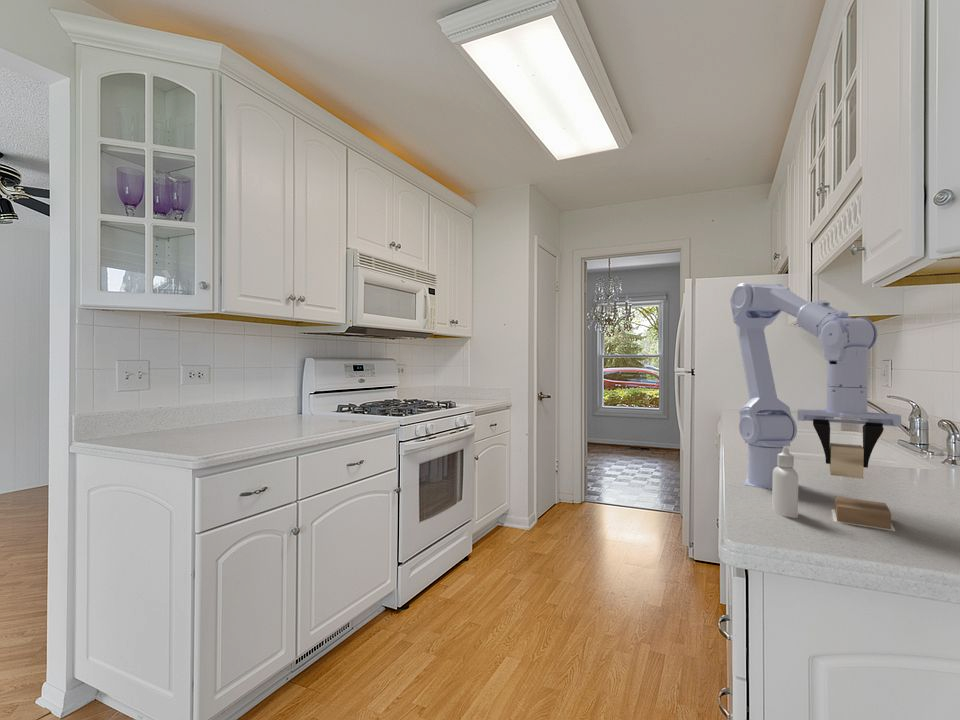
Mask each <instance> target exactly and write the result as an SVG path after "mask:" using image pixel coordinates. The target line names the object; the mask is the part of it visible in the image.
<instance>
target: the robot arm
mask: <svg viewBox="0 0 960 720" xmlns="http://www.w3.org/2000/svg"><path fill="white" fill-rule="evenodd" d="M729 302H730V307H731V314H732V319H733V320H732V321H733V323H734V324H735V326H736V333H737V338H738V343H739V350H740V355H741V360H742V367H743V372H744V377H745V383H746V388H747V393H748V399H749V401H747V403H746V404H744V405H743V406H742V407H741V408H740V409H739V424H738V431H739V434H740V436H741V438H742V439H743V440H744V443H745V444H748V445H747V446H748V447H747V477H746V479H745V481H744V482H743V485H744V486H747V487H753V488H754V487H755V488H761V489H771V490H772V486H773V470H774V468H776V467H778V465H777V460H778V454H779V453H782V451H783V447H790V446H791V442H793V441H794V440H795V438H796V437H797V433H798V426H797V425H798V424H797V422H796V420H795V419H794V417H793V416H792V413H791V412H792V411H791V408H790V406H789V405H787V404H786V403H784V401H782V400H781V399H779V398H778V395H777V390H776V389H777V388H776V385H775V380H774V375H773V370H772V365H771V360H770V354H769V350H768V345H767V344H768V343H767V341H766V340H767V339H766V335H765V328H766V327H767V326H770V325H772V324H773V323H774V322H775V320H776V319H777V317H778V316H779V315H780V314H781V313H782V312H784V313H786V314H787V315H789V316H791V317H794V318H796V323H797V325H798V327H800V328H801V329H803V330H804V331H806V332H808V333H810V334H811V335H812V336H814V337H817V338H818V341H819V343H820V344H819V345H820V346H821V347H822V349H823V357H824V358H825V360H826V362H827V365H826V366H827V369H826V370H827V373H826V374H827V376H826V380H827V381H826V387H827V388H826V409H805V408H804V409H800V408H798V409H797V415H796V417H797V418H796V419H797V421H798V422H799V421H801V422H805V421H810V422H812V425H813V428H814V430H815V431H816V434H817V436H818V438H819V441H820V443H821V446H822V449H823V452H824V456H825V457H824V458H825V464H828V465H830V464H831V453H830V443H831V423H839V424H840V423H841V424H854V425H862V447H863V449H864V466H863V468H866V469H867V468H868V467H869V462H870V461H869V460H870V458H871V454H872V452H873V451H874V448H875V446H876V444H877V442H878V441H879V438H880V437H881V436H882V434H883V432H884V427H885V426H888V427H896V428H897V427H898V428H901V427H902V415H901V414H899V413H897V414H896V413H895V414H894V413H881V412H868V386H869V385H868V383H869V382H868V379H869V374H868V373H869V372H868V371H869V350H870V349H871V348H873V347H874V346H875V344H876V342H877V339H878V330H877V327H876V325H875V324H874V322H873V321H871V320H870V319H869V318H867V317H856V318H853V317H851V316H850V315H849V312H847V311H845V310H838V309H836V308H835V307H832V306H830V304H831V303H830V302H829V301H827V300H816V301H815V300H813V301H810V302H808V301H807V300H805V299H804V298H802V297H800V296H799V295H797V294H796V293H794V292H793V291H791V290H790V287H789V286H785V285H783V284H781V283H775V284H766V283H765V284H763V283H762V284H761V283H757V284H756V283H746V282H741V283H739V284H737V285H736V286H735V288H734V289H733V291H732V294H731V297H730V299H729ZM837 418H838V419H837ZM852 419H854V420H852ZM855 419H857V420H855Z"/></svg>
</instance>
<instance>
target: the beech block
mask: <svg viewBox="0 0 960 720" xmlns="http://www.w3.org/2000/svg"><path fill="white" fill-rule="evenodd" d="M830 453H831V464H829V472H830V473H829V474H830V476H835V477H836V476H837V477H843V478H844V477H845V478H851V479H852V478H854V479H864V467H863V466H864V449H863V445H860V444H851V443H850V444H849V443H838V442H830Z"/></svg>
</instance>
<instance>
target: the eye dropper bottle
mask: <svg viewBox="0 0 960 720" xmlns="http://www.w3.org/2000/svg"><path fill="white" fill-rule="evenodd" d="M794 459H795V457H794V455H793V454H792V453H790V449H789V446H786V447H783V451H782V453H779V454H778V460H777V465H778V467H776V468H774V470H773V486H772V489H771V490H772V491H771V492H772V493H771V494H772V496H771V497H772V501H771V502H772V503H771V510H772V512H774V513H775V514H777V515H778V516H781V517H784V518H794V519H795V518H797V519H798V517H799V515H798V514H799V475H798V473H797V471H796V469H794V465H795V464H794V463H795V460H794Z"/></svg>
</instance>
